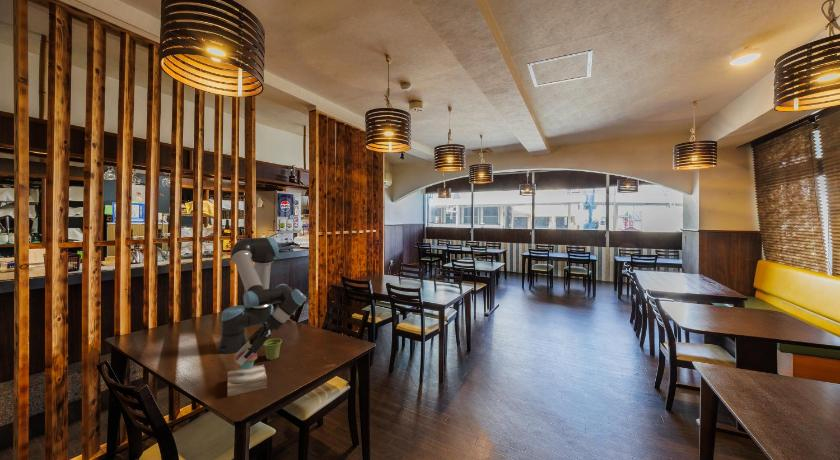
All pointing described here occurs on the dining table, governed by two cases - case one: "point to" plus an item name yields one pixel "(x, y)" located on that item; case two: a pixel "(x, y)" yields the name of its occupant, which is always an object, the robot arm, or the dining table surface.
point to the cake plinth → (246, 380)
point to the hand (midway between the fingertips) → (238, 359)
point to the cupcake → (249, 361)
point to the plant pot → (272, 348)
